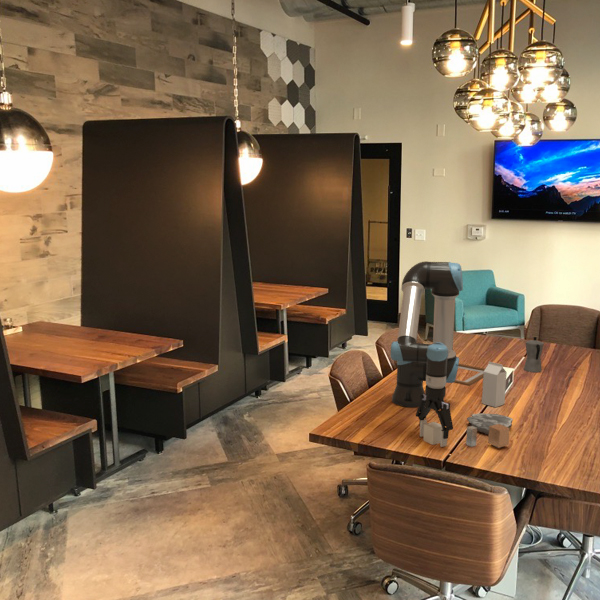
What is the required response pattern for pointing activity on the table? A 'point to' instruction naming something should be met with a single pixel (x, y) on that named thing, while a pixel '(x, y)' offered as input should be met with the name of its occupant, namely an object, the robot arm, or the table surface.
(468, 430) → the post
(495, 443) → the tan brown block
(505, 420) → the brain slice
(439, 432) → the cream sugar cube
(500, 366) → the milk carton
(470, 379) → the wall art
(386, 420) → the table surface
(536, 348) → the coffeepot
